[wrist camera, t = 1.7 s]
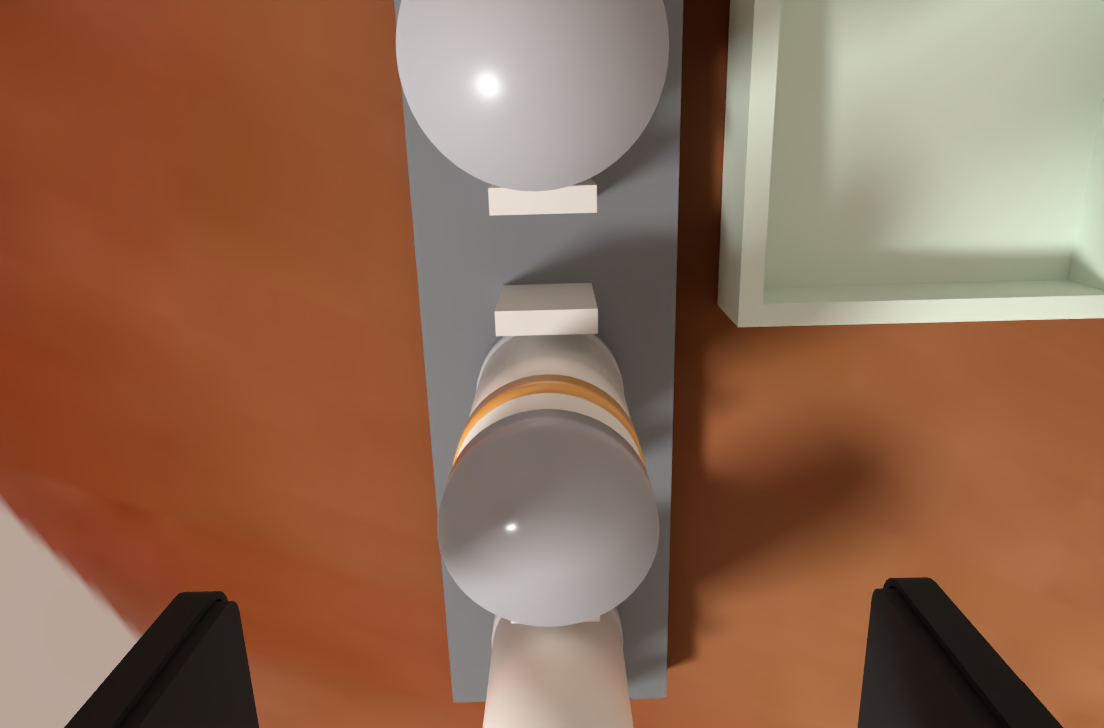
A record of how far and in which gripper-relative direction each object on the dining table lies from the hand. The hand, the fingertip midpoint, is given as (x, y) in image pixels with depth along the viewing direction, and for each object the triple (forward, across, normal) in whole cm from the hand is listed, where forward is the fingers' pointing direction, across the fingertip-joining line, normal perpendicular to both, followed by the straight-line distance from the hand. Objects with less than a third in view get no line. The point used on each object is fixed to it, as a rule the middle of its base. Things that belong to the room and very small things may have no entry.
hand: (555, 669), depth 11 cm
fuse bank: (+12, 0, -1) cm, 12 cm away
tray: (+12, -10, -8) cm, 17 cm away
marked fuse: (+11, 0, -1) cm, 11 cm away
